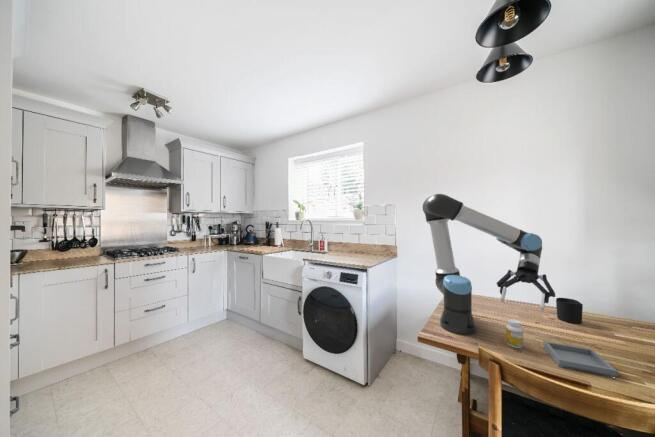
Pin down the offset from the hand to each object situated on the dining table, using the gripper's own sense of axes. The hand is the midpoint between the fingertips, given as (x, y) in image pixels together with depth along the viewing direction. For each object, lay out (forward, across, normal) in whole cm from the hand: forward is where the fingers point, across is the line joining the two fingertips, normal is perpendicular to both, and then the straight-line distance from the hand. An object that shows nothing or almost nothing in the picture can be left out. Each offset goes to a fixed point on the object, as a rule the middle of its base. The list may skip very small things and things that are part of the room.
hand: (521, 304), depth 102 cm
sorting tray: (+15, -17, -5) cm, 23 cm away
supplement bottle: (+18, 0, -3) cm, 18 cm away
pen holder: (-18, -12, -38) cm, 44 cm away
